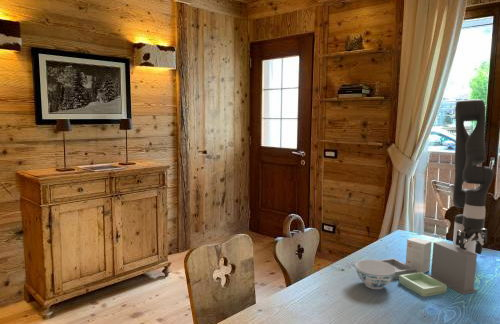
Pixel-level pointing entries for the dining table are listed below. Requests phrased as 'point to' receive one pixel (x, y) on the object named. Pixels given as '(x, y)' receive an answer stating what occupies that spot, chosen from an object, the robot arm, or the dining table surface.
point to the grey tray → (399, 267)
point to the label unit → (454, 267)
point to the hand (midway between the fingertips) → (470, 254)
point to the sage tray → (422, 284)
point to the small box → (418, 254)
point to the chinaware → (375, 273)
